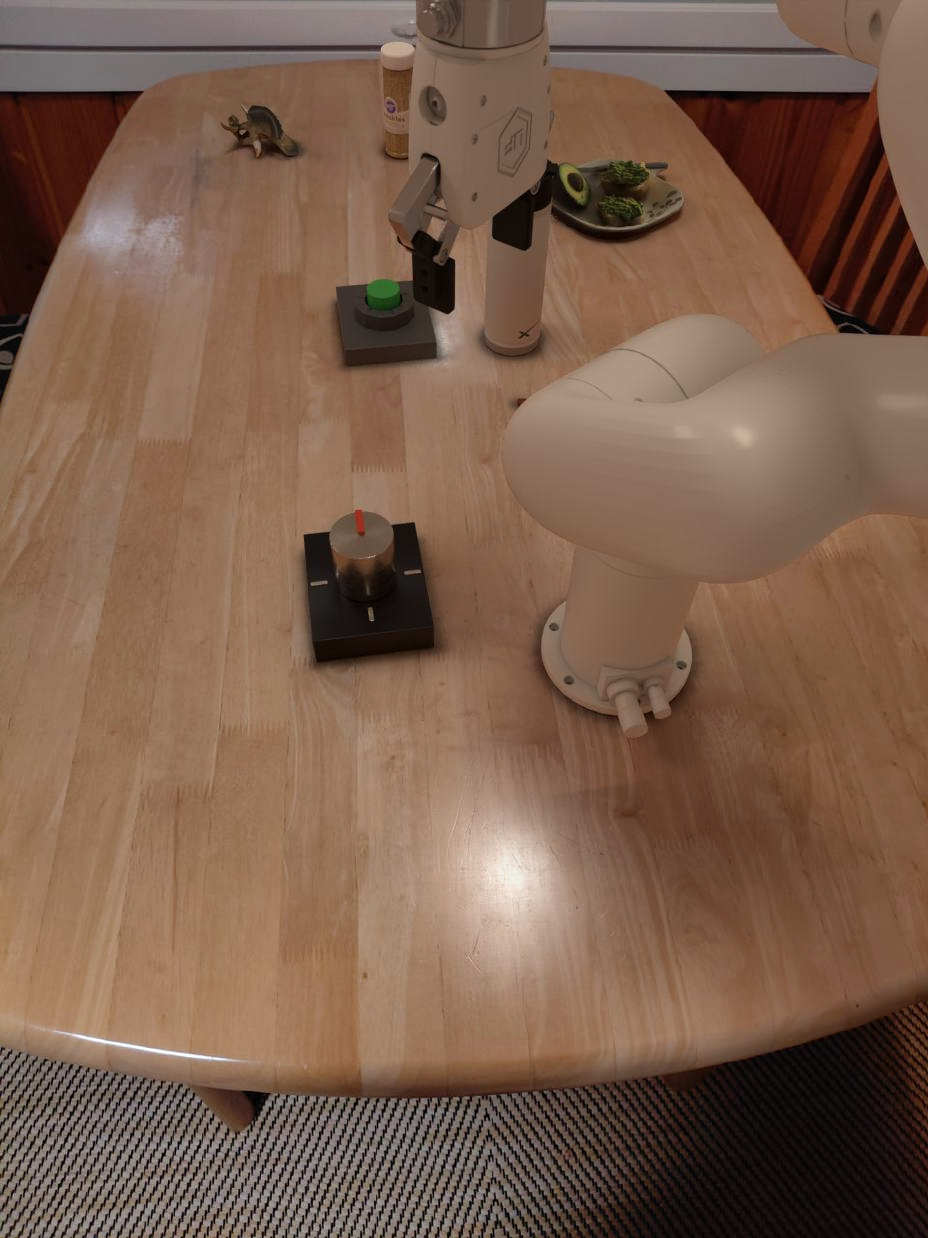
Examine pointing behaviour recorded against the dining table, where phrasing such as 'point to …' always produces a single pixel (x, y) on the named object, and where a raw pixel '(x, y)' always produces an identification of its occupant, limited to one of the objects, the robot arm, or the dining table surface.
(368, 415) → the dining table surface
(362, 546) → the program dial
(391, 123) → the sprinkles bottle
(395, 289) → the button
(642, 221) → the avocado toast plate
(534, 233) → the travel mug
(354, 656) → the dial panel
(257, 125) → the brown horned dinosaur figurine
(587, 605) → the robot arm
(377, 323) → the block
